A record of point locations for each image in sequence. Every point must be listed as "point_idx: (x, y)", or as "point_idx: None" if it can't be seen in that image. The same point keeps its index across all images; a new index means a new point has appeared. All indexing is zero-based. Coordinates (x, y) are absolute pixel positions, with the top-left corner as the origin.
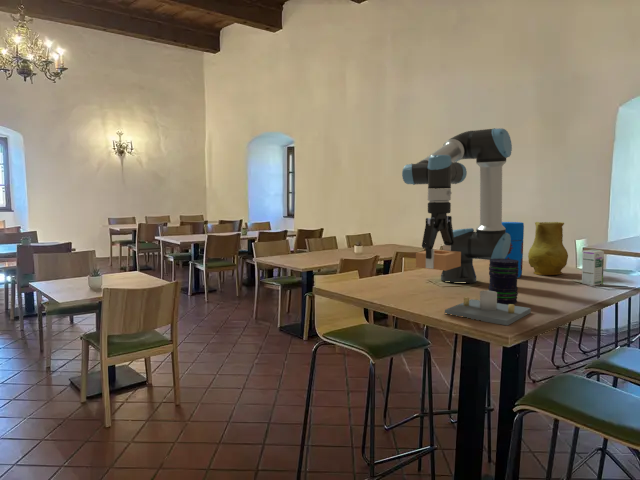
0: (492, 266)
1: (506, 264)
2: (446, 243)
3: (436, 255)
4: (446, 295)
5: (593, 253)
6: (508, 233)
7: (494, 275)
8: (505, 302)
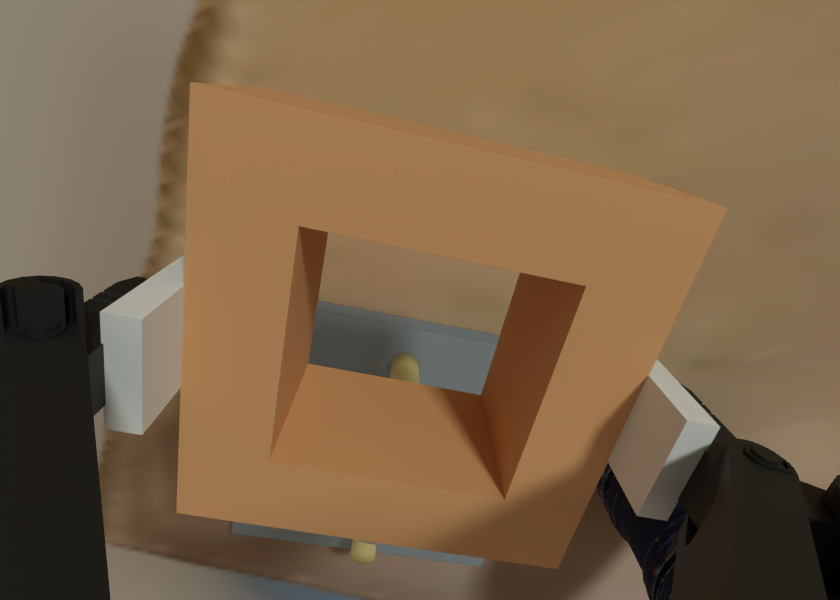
0: None
1: None
2: (712, 485)
3: (183, 408)
4: (725, 177)
5: None
6: None
7: (666, 537)
8: None
